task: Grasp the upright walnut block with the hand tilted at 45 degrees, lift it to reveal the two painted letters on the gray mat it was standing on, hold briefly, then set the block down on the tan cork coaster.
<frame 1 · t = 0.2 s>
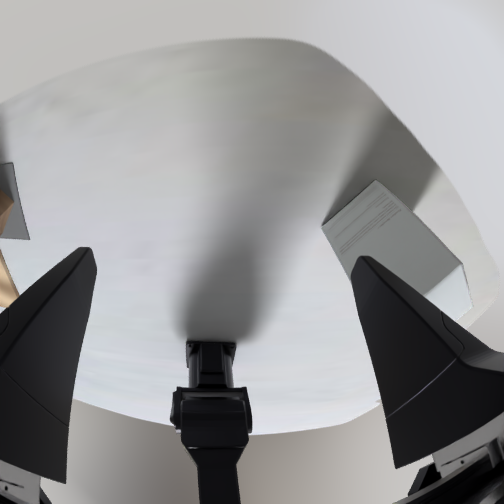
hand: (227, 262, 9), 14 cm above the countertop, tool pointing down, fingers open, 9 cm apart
supplement box: (366, 223, 27), on the countertop
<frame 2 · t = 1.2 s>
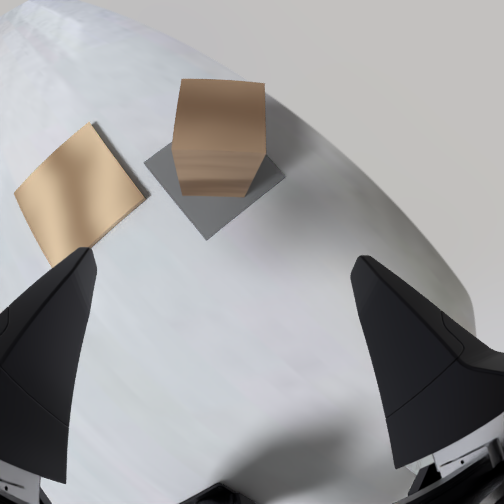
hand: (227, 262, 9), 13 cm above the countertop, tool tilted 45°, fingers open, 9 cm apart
coaster: (72, 195, 21), on the countertop
walnut block: (214, 167, 23), resting on gray mat
gray mat: (214, 168, 23), on the countertop
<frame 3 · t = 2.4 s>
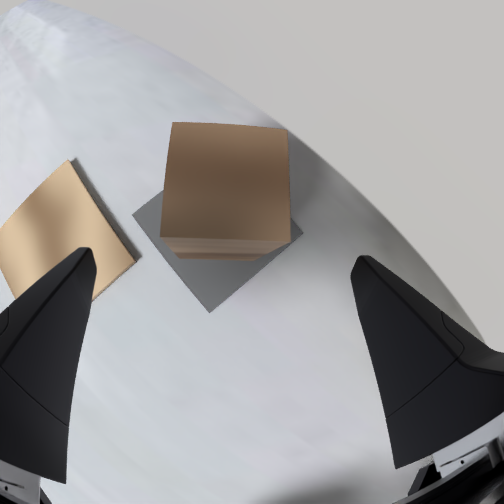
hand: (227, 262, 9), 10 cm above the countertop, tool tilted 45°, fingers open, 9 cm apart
coaster: (52, 251, 17), on the countertop
walnut block: (217, 223, 19), resting on gray mat
gray mat: (217, 223, 19), on the countertop
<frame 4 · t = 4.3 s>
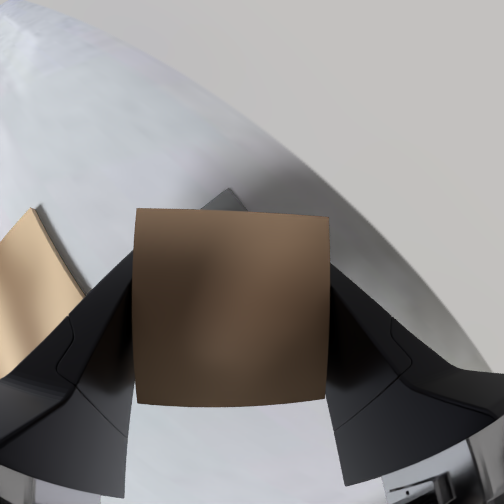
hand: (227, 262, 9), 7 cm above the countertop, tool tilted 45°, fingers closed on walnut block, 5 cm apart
coaster: (24, 321, 13), on the countertop
walnut block: (217, 296, 15), resting on gray mat, touching gripper
gray mat: (217, 296, 15), on the countertop
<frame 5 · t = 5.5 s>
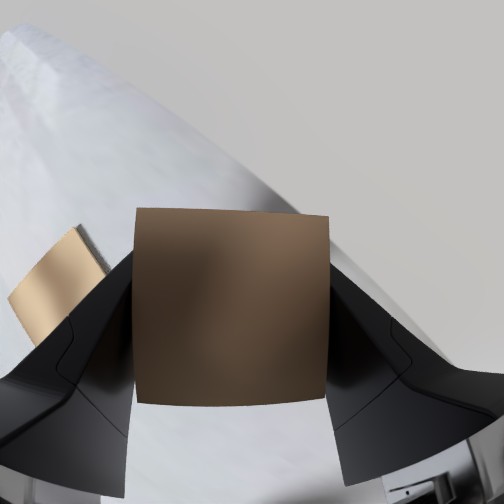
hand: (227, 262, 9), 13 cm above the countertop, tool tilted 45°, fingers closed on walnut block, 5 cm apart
coaster: (67, 311, 20), on the countertop
walnut block: (217, 296, 15), point 7 cm above the countertop, touching gripper
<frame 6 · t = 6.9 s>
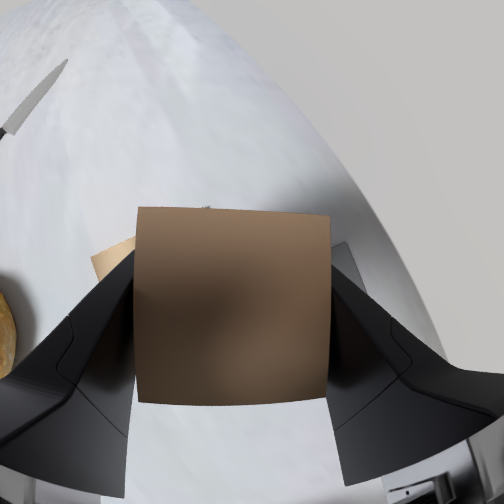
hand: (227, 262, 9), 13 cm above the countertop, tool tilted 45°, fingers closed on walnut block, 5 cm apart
coaster: (169, 291, 21), on the countertop
walnut block: (218, 296, 15), point 7 cm above the countertop, touching gripper
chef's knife: (24, 115, 21), on the countertop
gray mat: (324, 307, 23), on the countertop
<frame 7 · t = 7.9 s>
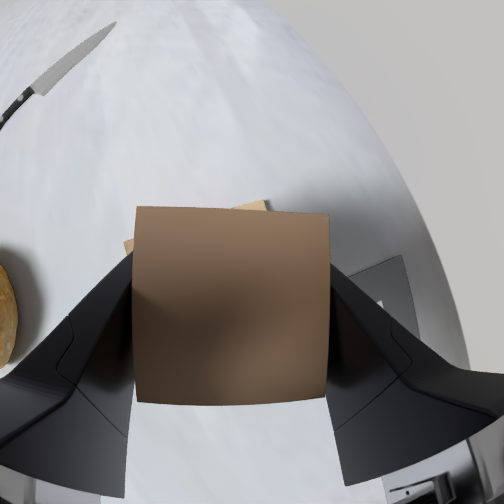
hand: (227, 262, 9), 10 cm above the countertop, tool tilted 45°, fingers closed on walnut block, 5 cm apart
coaster: (215, 291, 19), on the countertop
walnut block: (217, 295, 15), point 4 cm above the countertop, touching gripper
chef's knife: (57, 77, 19), on the countertop
gray mat: (375, 322, 21), on the countertop
when the fingers open (8 cm above the countertop, at t = 8.8 s): walnut block stays where it is, resting on coaster.
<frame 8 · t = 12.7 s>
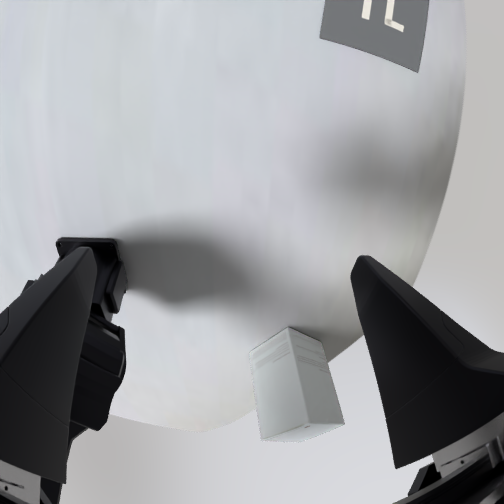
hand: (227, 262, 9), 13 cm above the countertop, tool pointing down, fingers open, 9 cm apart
supplement box: (285, 346, 37), on the countertop
gray mat: (381, 7, 13), on the countertop
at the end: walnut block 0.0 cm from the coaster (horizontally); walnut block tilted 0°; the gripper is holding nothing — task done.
